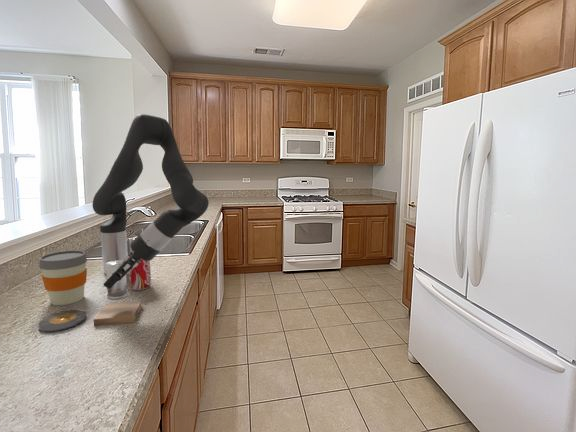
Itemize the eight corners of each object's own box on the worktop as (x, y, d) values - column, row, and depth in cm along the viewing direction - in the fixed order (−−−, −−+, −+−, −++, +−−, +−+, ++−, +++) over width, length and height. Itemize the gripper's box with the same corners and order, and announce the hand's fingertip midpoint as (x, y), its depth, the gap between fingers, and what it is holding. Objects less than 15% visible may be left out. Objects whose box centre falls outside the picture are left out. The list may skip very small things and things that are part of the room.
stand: (106, 310, 96) (105, 303, 95) (141, 307, 98) (141, 301, 98) (94, 326, 86) (93, 319, 86) (133, 322, 88) (132, 316, 88)
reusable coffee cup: (61, 310, 95) (56, 263, 93) (34, 303, 99) (28, 258, 97) (98, 295, 107) (95, 252, 104) (73, 289, 111) (69, 248, 109)
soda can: (143, 292, 109) (140, 259, 107) (125, 290, 111) (122, 258, 109) (155, 285, 116) (153, 253, 114) (138, 283, 118) (136, 252, 116)
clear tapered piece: (110, 292, 93) (108, 260, 92) (130, 291, 94) (128, 259, 93) (104, 300, 88) (101, 266, 86) (125, 299, 89) (122, 265, 88)
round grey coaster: (51, 315, 92) (51, 311, 92) (93, 311, 94) (92, 307, 94) (30, 334, 81) (29, 330, 81) (77, 330, 84) (77, 325, 84)
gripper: (146, 227, 97) (107, 266, 96) (135, 238, 83) (88, 284, 82) (165, 243, 99) (127, 281, 98) (157, 256, 85) (112, 301, 84)
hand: (109, 282), depth 90 cm, fingers closed on clear tapered piece, 5 cm apart
